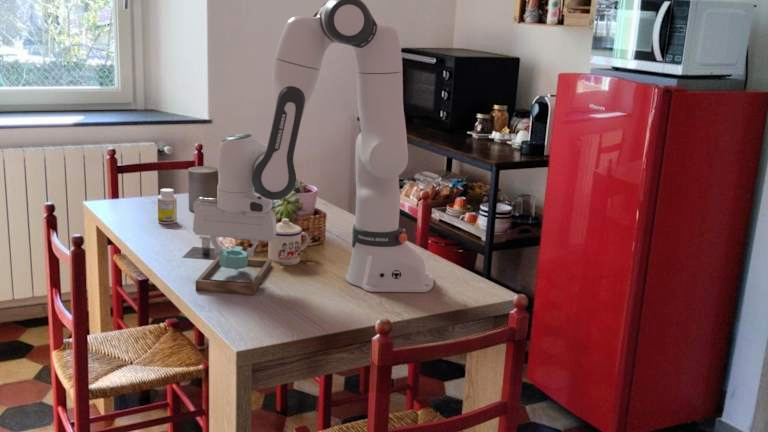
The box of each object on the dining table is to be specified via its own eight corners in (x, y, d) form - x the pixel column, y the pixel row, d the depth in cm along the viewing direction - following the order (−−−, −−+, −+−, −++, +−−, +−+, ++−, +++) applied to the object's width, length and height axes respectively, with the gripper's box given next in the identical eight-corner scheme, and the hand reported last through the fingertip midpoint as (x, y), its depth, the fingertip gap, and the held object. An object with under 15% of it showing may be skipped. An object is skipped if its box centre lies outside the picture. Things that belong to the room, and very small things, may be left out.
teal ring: (243, 270, 198) (244, 258, 197) (217, 266, 198) (218, 255, 197) (250, 259, 207) (251, 248, 207) (225, 256, 207) (226, 244, 207)
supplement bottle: (166, 218, 253) (166, 186, 251) (180, 221, 251) (180, 189, 248) (154, 222, 248) (153, 189, 246) (167, 225, 246) (167, 192, 243)
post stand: (229, 253, 223) (229, 233, 221) (219, 264, 213) (219, 243, 212) (193, 250, 223) (193, 230, 222) (181, 261, 214) (181, 240, 212)
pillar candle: (221, 207, 271) (220, 162, 268) (215, 214, 262) (215, 168, 258) (191, 205, 271) (191, 161, 267) (185, 212, 262) (184, 167, 258)
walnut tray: (271, 269, 211) (271, 260, 211) (253, 295, 192) (253, 285, 192) (218, 265, 212) (218, 256, 212) (195, 290, 193) (195, 280, 192)
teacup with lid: (278, 268, 213) (279, 225, 210) (261, 258, 220) (261, 217, 217) (316, 261, 220) (318, 220, 217) (298, 252, 227) (300, 212, 224)
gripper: (189, 199, 195) (188, 254, 198) (273, 206, 194) (271, 262, 197) (197, 193, 201) (196, 247, 204) (279, 200, 200) (276, 254, 203)
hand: (234, 254), depth 201 cm, fingers closed on teal ring, 7 cm apart
